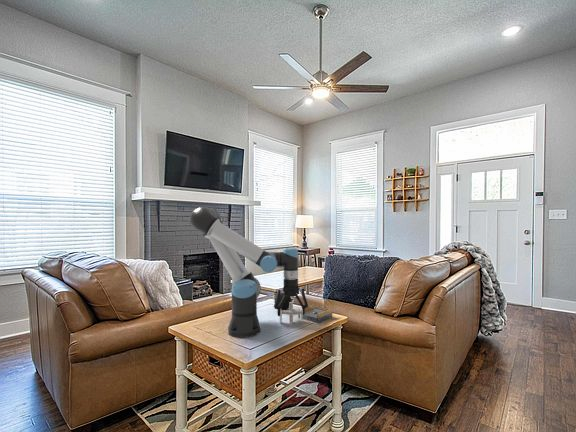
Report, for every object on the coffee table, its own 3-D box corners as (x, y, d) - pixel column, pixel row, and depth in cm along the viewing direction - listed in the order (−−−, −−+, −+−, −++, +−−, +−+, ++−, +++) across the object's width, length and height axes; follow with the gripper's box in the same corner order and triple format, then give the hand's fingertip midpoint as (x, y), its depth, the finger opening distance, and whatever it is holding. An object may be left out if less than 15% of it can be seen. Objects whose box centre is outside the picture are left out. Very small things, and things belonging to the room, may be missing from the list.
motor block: (318, 323, 160) (317, 314, 160) (298, 318, 169) (298, 309, 169) (332, 317, 170) (332, 308, 170) (312, 312, 178) (312, 304, 178)
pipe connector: (301, 325, 157) (301, 305, 157) (281, 325, 157) (280, 305, 157) (300, 319, 167) (300, 300, 167) (281, 319, 167) (281, 300, 167)
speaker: (282, 314, 175) (281, 296, 175) (271, 310, 183) (270, 293, 183) (295, 310, 182) (295, 293, 182) (284, 307, 189) (284, 290, 190)
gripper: (269, 280, 156) (269, 325, 156) (314, 278, 160) (314, 322, 160) (268, 277, 164) (268, 320, 164) (310, 276, 168) (311, 318, 167)
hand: (291, 321), depth 162 cm, fingers closed on pipe connector, 10 cm apart
